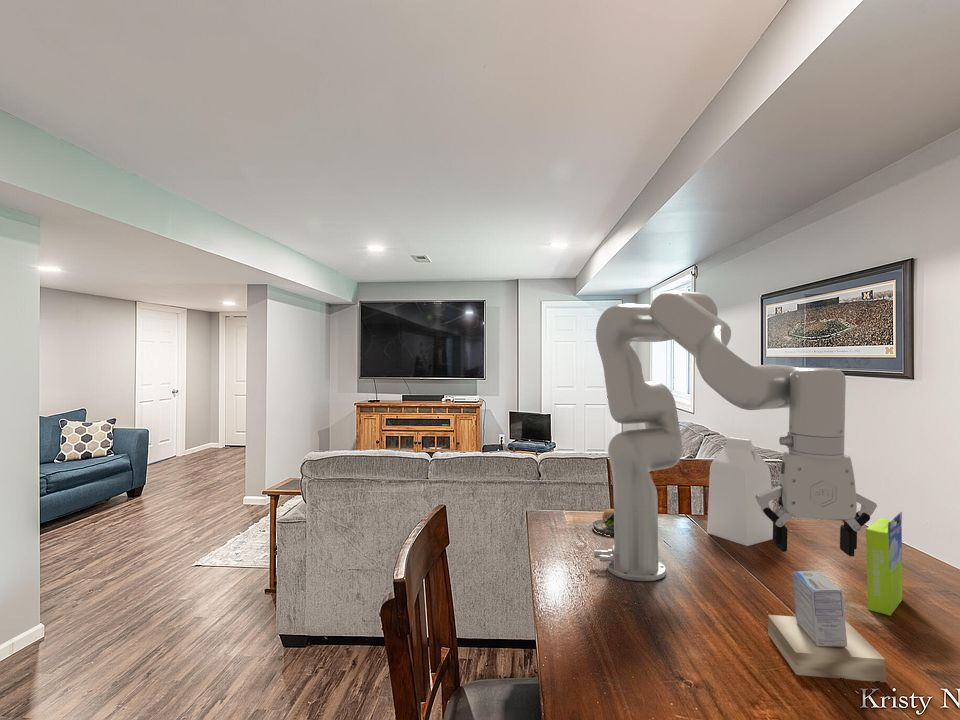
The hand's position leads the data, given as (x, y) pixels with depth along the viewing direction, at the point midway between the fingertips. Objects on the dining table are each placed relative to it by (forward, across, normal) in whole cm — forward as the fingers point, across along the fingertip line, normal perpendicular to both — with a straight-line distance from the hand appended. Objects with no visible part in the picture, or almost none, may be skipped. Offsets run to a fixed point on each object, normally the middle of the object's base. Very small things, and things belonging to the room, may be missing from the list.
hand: (813, 550), depth 86 cm
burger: (+19, -27, +59) cm, 68 cm away
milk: (+18, +6, +59) cm, 62 cm away
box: (+17, +21, +20) cm, 33 cm away
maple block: (+17, +1, -1) cm, 17 cm away
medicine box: (+13, +1, -1) cm, 13 cm away
